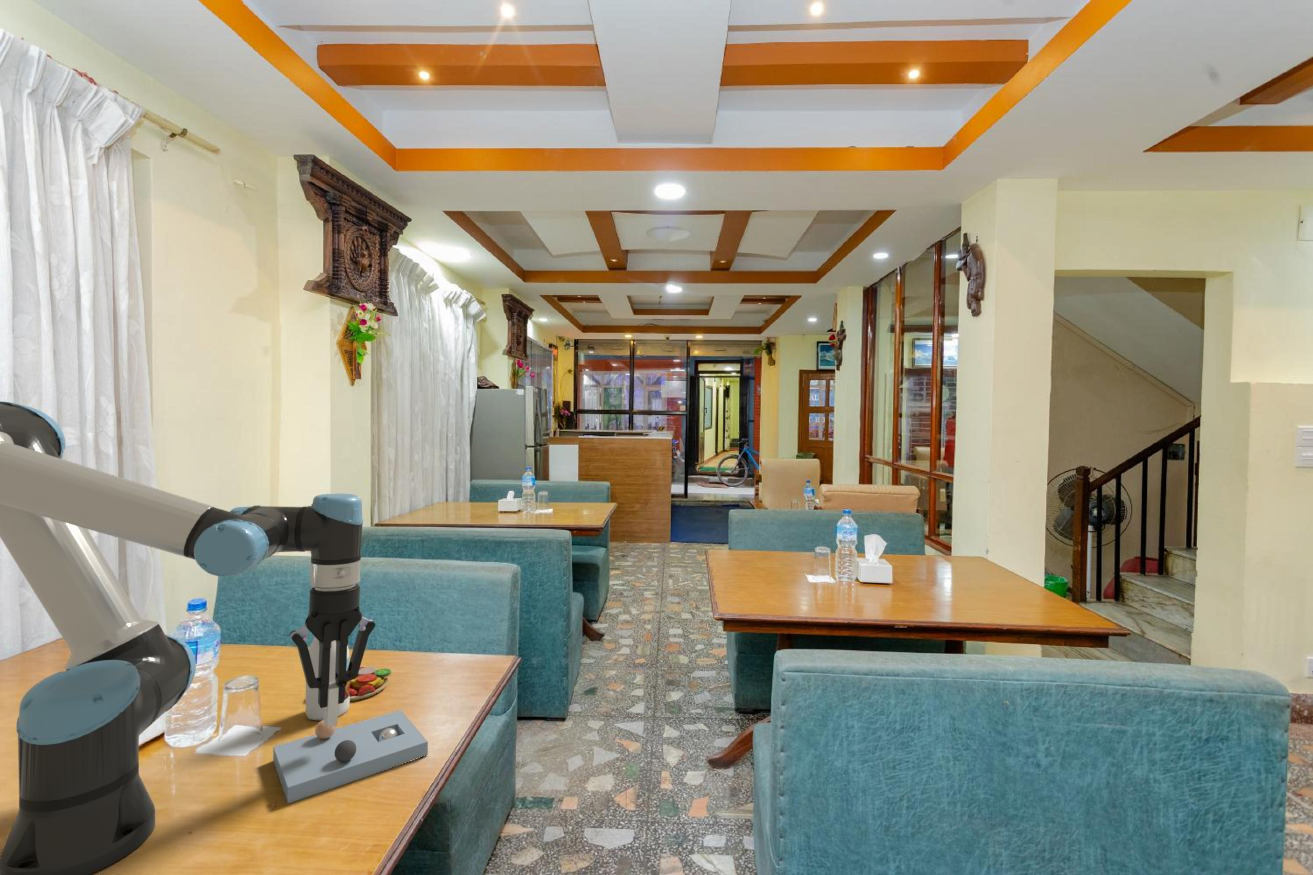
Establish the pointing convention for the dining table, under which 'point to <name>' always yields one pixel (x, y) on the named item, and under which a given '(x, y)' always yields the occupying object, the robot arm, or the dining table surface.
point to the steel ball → (388, 734)
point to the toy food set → (368, 682)
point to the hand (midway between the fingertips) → (330, 723)
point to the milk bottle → (312, 694)
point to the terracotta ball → (324, 730)
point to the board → (317, 770)
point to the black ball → (345, 751)
